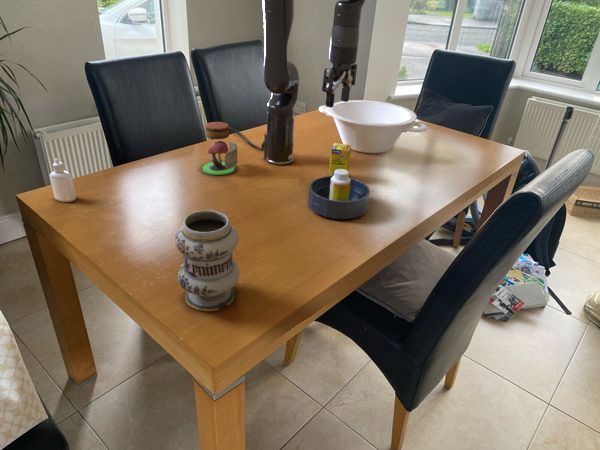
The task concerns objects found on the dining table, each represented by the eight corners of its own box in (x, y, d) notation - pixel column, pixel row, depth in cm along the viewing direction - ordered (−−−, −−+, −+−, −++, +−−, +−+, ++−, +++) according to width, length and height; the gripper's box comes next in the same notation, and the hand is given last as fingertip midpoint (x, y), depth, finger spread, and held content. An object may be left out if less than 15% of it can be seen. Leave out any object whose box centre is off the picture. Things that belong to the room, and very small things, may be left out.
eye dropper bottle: (62, 204, 123) (52, 164, 117) (53, 198, 126) (43, 157, 120) (78, 200, 126) (69, 159, 120) (69, 193, 129) (60, 154, 123)
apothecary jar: (205, 324, 85) (199, 244, 76) (168, 295, 92) (158, 219, 83) (252, 296, 93) (251, 220, 84) (214, 271, 100) (211, 199, 91)
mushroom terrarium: (201, 178, 142) (198, 132, 135) (200, 163, 153) (198, 119, 146) (239, 176, 145) (238, 131, 137) (235, 162, 156) (234, 119, 148)
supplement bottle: (351, 206, 129) (355, 174, 124) (334, 210, 127) (338, 176, 121) (341, 198, 133) (345, 166, 128) (325, 201, 131) (328, 169, 126)
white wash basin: (434, 146, 180) (440, 113, 174) (405, 173, 155) (411, 135, 148) (337, 124, 199) (340, 93, 192) (297, 145, 173) (298, 110, 167)
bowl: (296, 208, 128) (297, 189, 125) (327, 188, 140) (328, 171, 137) (349, 228, 120) (351, 208, 117) (377, 205, 132) (380, 186, 129)
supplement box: (346, 183, 145) (349, 150, 140) (328, 180, 146) (330, 148, 140) (348, 175, 150) (351, 144, 145) (330, 173, 151) (333, 142, 145)
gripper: (345, 39, 127) (338, 97, 135) (317, 43, 117) (312, 105, 125) (368, 43, 124) (360, 102, 132) (342, 48, 113) (335, 111, 121)
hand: (337, 104), depth 128 cm, fingers open, 8 cm apart
